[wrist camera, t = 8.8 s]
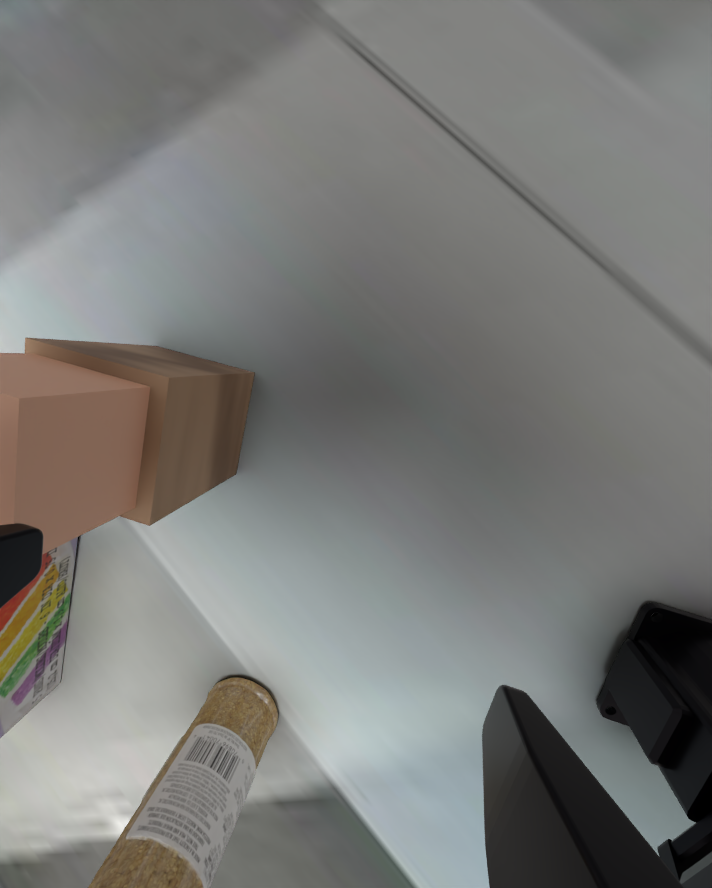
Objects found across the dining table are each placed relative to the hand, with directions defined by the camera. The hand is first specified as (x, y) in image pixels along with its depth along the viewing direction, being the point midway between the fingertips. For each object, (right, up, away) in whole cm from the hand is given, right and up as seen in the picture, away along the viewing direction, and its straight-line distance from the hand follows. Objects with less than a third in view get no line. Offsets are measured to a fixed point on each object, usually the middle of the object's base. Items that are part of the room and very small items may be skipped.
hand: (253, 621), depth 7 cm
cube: (-8, +4, +7) cm, 11 cm away
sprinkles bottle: (-5, -13, +17) cm, 22 cm away
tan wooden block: (-6, +5, +14) cm, 16 cm away
